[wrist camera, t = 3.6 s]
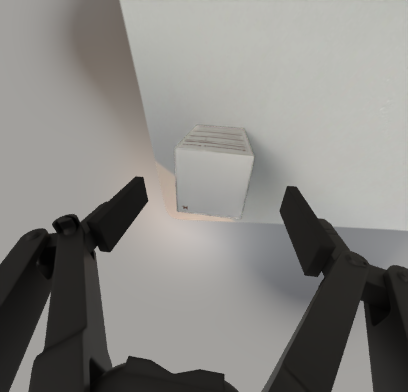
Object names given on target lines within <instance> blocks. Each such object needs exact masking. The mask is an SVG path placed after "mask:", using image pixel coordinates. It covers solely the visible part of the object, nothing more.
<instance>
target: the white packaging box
mask: <svg viewBox="0 0 408 392" xmlns="http://www.w3.org/2000/svg"><path fill="white" fill-rule="evenodd" d="M174 157H175V177H176V200H177V211H178V212H185V213H192V214H201V215H209V216H217V217H226V218H234V219H241V217H242V213H243V209H244V205H245V200H246V196H247V191H248V187H249V182H250V177H251V173H252V168H253V163H254V158H255V156H254V154H253V151H252V149H251V146H250V143H249V140H248V138H247V135H246V132H245V130H244V128H230V127H218V126H205V125H196V126H195V127H194V128H193V129H192V130H191V131H190V132H189V134H188V135H187V136H186V137H185V138H184V139H183V140H182V141H181V142H180V143H179V144H178V145H177V146H176V147H175V149H174Z"/></svg>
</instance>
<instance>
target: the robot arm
mask: <svg viewBox="0 0 408 392" xmlns="http://www.w3.org/2000/svg"><path fill="white" fill-rule="evenodd" d="M147 202H148V198H147V193H146V188H145V183H144V178H143V177H135V178H134V179H132V180H131V181H130V182H129V183H128V184H127V185H126V186H125V187H124V188H123V189H122V190H120V191H119V192H118V193H117V194H116V195H115V196H114V197H113V198H112V199H111V200H110V201H108V202H105V203H103V204H101V205H99V206H98V207H97V208H96V209H95V210H94V211H93V212H92V213H90V214H89V215H88V216H87V217H86V218H85V219H84V220H82V221H81V222H80V221H79V219H78V217H77V216H76V215H74V214H69V215H65V216H62V217H60V218H58V219H56V220H55V221H54V222H53V223H52V225H53V227H54V229H55V230H56V232H57V233H52V234H49V233H48V232H47V230H46V229H43V228H42V229H35V230H32V231H30V232H28V233H26V234H25V235H23V236H22V237H21V238H20V240H19V241H18V242H17V243H16V245H15V246H14V247H13V249H12V250H11V251H10V252H9V254H8V255H7V257H6V258H5V259H4V260H3V261H2V263H1V264H0V392H9V390H10V388H11V385H12V383H13V380H14V378H15V376H16V373H17V371H18V369H19V366H20V364H21V361H22V359H23V357H24V354H25V352H26V349H27V347H28V344H29V342H30V340H31V337H32V335H33V332H34V330H35V328H36V325H37V323H38V320H39V318H40V316H41V313H42V311H43V309H44V306H45V304H46V302H47V299H48V297H49V294H50V292H51V297H50V306H49V314H48V322H47V330H46V338H45V346H44V350H43V352H42V353H41V354H39V355H37V357H36V359H35V360H34V363H33V367H32V373H31V379H30V385H29V392H238V390H237V389H235V388H234V387H233V386H232V385H231V384H230V383H228V382H226V381H225V380H224V374H222V373H217V372H211V371H206V370H201V369H199V370H194V371H188V372H182V373H177V374H173V373H171V372H169V371H167V370H166V369H164V368H163V367H161V366H160V365H158V364H156V363H155V362H153V361H151V360H147V359H143V358H137V357H132V356H129V357H128V359H127V362H126V363H123V364H120V365H118V366H115V367H113V368H112V363H111V360H110V357H109V354H108V350H107V342H106V334H105V326H104V318H103V310H102V301H101V293H100V285H99V277H98V269H97V261H96V253H95V251H94V249H95V248H96V246H98V247H99V250H100V251H103V252H111V251H112V249H113V248H114V246H115V245H116V244H117V243H118V241H119V240H120V238H121V237H122V236H123V234H124V233H125V232H126V230H127V229H128V228H129V226H130V225H131V224H132V222H133V221H134V220H135V218H136V217H137V215H138V214H139V213H140V211H141V210H142V209H143V207H144V206H145V205H146V203H147ZM280 214H281V216H282V219H283V221H284V224H285V226H286V229H287V231H288V234H289V237H290V239H291V242H292V244H293V247H294V249H295V251H296V254H297V257H298V259H299V262H300V264H301V267H302V269H303V272H304V275H306V276H314V277H318V276H319V274H320V273H321V271H322V273H323V275H324V279H323V280H322V282H321V284H320V285H319V288H318V290H317V291H316V294H315V295H314V297H313V299H312V301H311V302H310V304H309V306H308V308H307V310H306V312H305V314H304V315H303V317H302V319H301V321H300V323H299V325H298V326H297V328H296V330H295V332H294V334H293V336H292V338H291V339H290V341H289V343H288V345H287V347H286V348H285V350H284V352H283V354H282V356H281V358H280V359H279V361H278V363H277V365H276V367H275V369H274V371H273V372H272V374H271V376H270V378H269V380H268V381H267V383H266V385H265V386H264V388H263V390H262V392H331V390H332V387H333V384H334V381H335V378H336V375H337V372H338V368H339V365H340V362H341V358H342V356H343V352H344V349H345V346H346V343H347V339H348V336H349V333H350V330H351V327H352V324H353V321H354V318H355V315H356V311H357V308H358V305H359V302H360V300H361V301H364V309H365V318H366V327H367V337H368V345H369V355H370V364H371V372H372V373H371V374H372V382H373V391H374V392H408V269H407V268H405V267H401V266H397V265H393V266H390V267H389V268H388V269H387V270H385V269H382V268H379V267H375V266H372V265H370V264H369V263H368V262H367V260H366V259H365V258H363V257H362V256H360V255H359V254H357V253H354V252H352V251H350V250H349V248H348V247H347V246H346V244H345V243H344V242H343V240H342V239H341V237H340V236H339V235H338V234H337V232H336V231H335V230H334V228H333V227H332V225H331V224H330V223H329V222H327V221H326V220H325V219H318V218H317V217H316V215H315V214H314V212H313V211H312V209H311V208H310V206H309V205H308V203H307V202H306V200H305V199H304V197H303V196H302V194H301V193H300V191H299V190H298V188H297V187H294V186H287V188H286V191H285V195H284V198H283V201H282V205H281V208H280Z"/></svg>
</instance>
